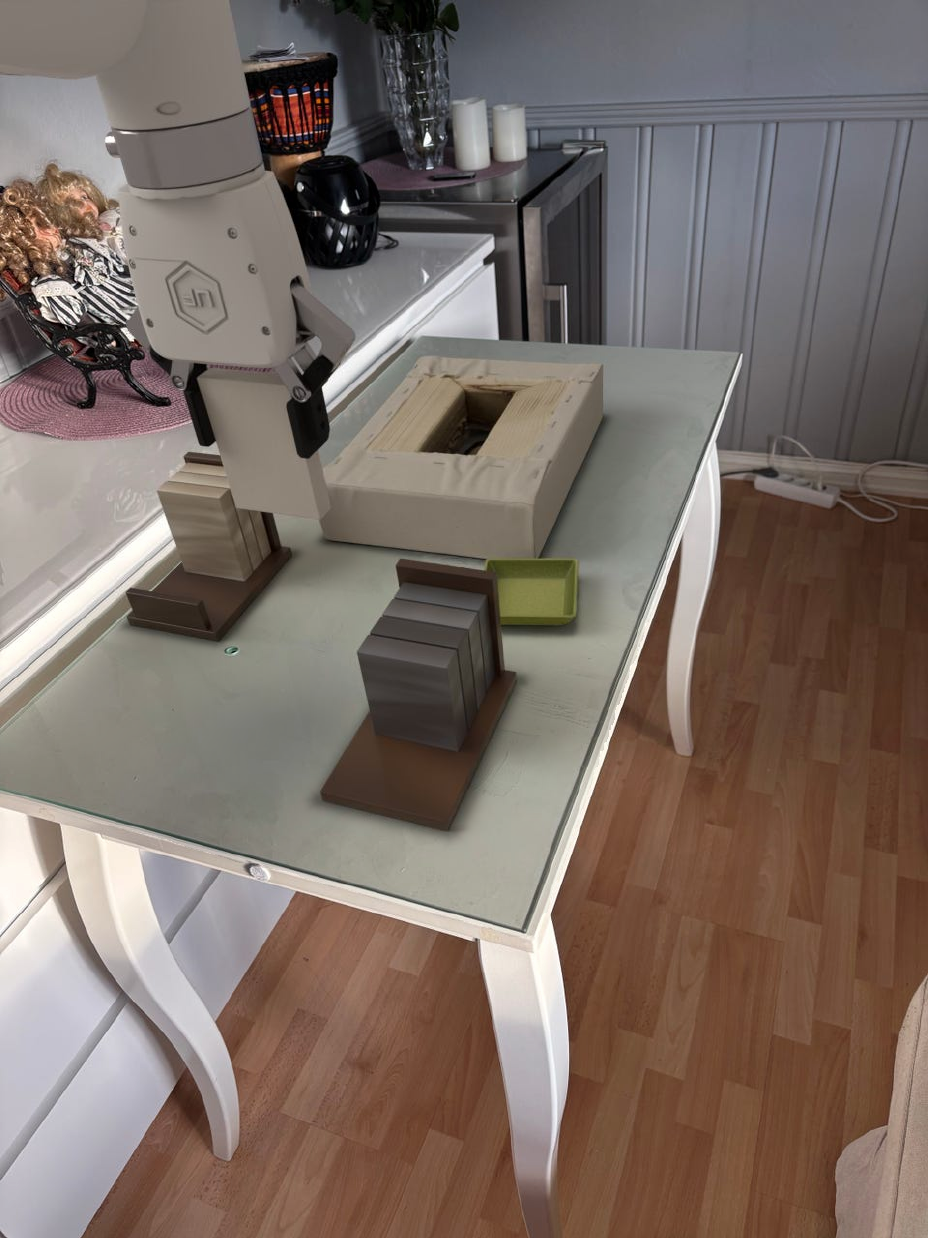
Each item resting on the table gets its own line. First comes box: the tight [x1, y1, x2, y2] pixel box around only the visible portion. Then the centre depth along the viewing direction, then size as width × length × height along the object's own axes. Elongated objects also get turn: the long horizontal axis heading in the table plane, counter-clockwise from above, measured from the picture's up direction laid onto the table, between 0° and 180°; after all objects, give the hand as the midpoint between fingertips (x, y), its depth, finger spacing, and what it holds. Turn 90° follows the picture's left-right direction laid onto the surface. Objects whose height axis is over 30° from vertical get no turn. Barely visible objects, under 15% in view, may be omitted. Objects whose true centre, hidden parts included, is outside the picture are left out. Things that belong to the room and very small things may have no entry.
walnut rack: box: [319, 558, 518, 832], centre depth 68 cm, size 16×10×11 cm, turn 160°
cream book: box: [197, 367, 331, 521], centre depth 61 cm, size 2×7×10 cm, turn 68°
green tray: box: [483, 558, 580, 626], centre depth 82 cm, size 9×9×2 cm
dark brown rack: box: [125, 451, 293, 642], centre depth 86 cm, size 14×10×11 cm
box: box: [318, 355, 604, 560], centre depth 100 cm, size 23×8×32 cm
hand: (264, 440), depth 61 cm, fingers closed on cream book, 7 cm apart
